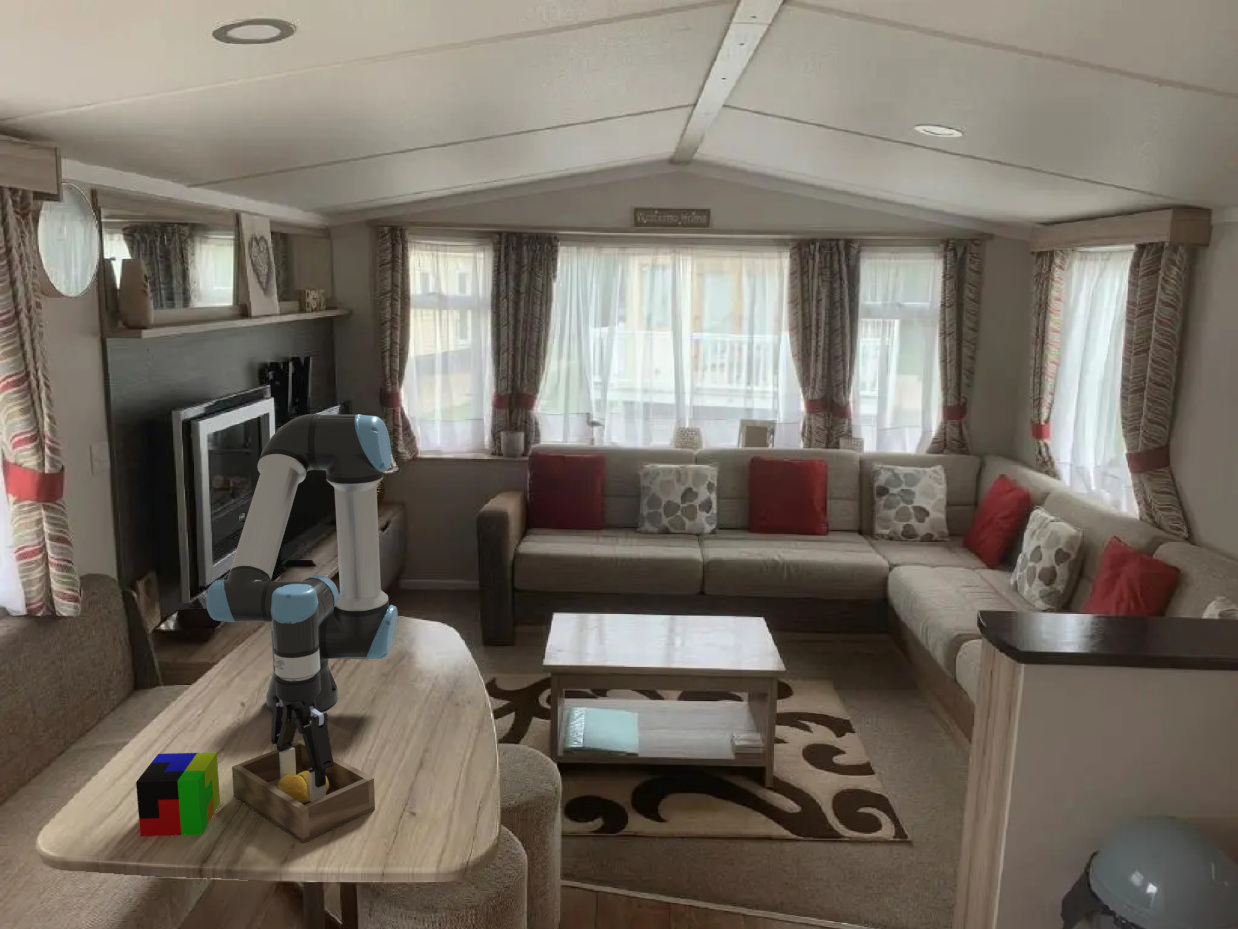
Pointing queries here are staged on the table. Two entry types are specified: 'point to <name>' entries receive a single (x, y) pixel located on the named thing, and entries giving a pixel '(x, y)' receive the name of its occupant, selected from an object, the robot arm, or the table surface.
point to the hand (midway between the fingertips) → (303, 792)
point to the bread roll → (297, 786)
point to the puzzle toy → (178, 794)
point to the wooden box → (302, 821)
